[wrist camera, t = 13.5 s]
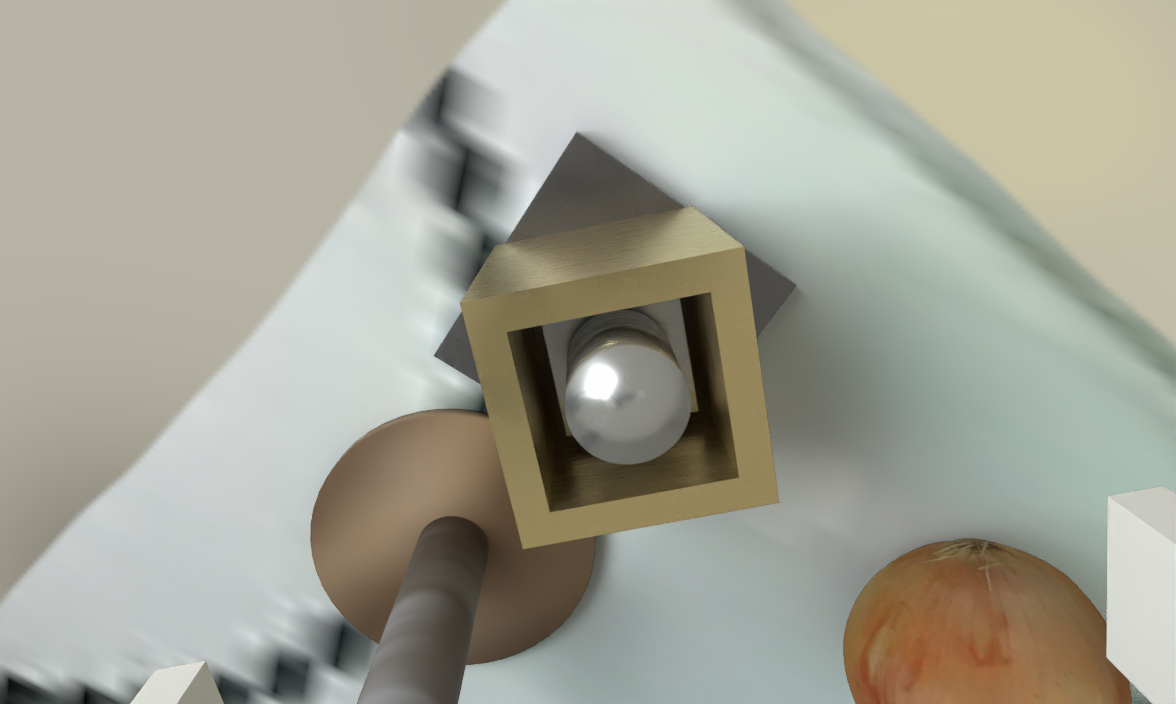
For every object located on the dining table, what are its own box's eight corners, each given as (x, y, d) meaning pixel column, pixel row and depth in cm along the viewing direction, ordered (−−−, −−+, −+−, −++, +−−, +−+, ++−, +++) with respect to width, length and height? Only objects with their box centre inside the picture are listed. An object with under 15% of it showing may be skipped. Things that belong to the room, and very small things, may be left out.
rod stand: (267, 572, 33) (115, 796, 22) (404, 354, 30) (306, 490, 19) (500, 694, 35) (466, 954, 24) (648, 502, 33) (684, 699, 22)
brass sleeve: (538, 426, 30) (522, 549, 22) (495, 245, 28) (459, 302, 20) (721, 391, 30) (779, 502, 21) (692, 205, 28) (743, 246, 19)
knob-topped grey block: (438, 348, 30) (374, 455, 21) (576, 131, 28) (576, 140, 18) (643, 472, 32) (670, 624, 23) (789, 279, 30) (889, 358, 20)
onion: (829, 702, 36) (920, 914, 26) (801, 519, 33) (892, 685, 23) (1036, 663, 35) (1205, 866, 26) (1026, 475, 32) (1213, 625, 23)
